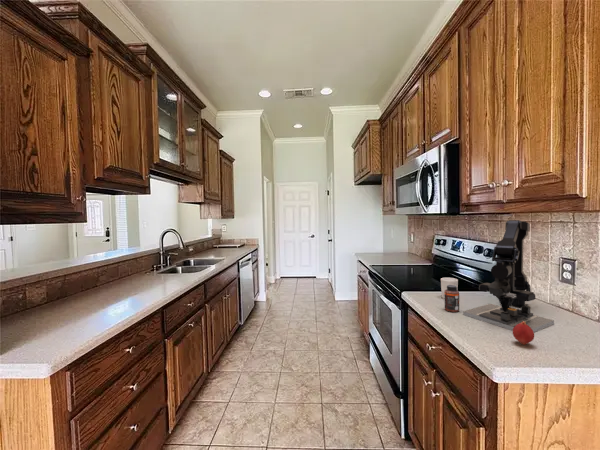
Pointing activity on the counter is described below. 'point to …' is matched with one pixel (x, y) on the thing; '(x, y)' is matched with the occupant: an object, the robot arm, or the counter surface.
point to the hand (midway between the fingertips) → (505, 311)
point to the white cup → (447, 282)
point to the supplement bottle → (452, 298)
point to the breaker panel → (530, 323)
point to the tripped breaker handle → (512, 311)
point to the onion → (523, 333)
